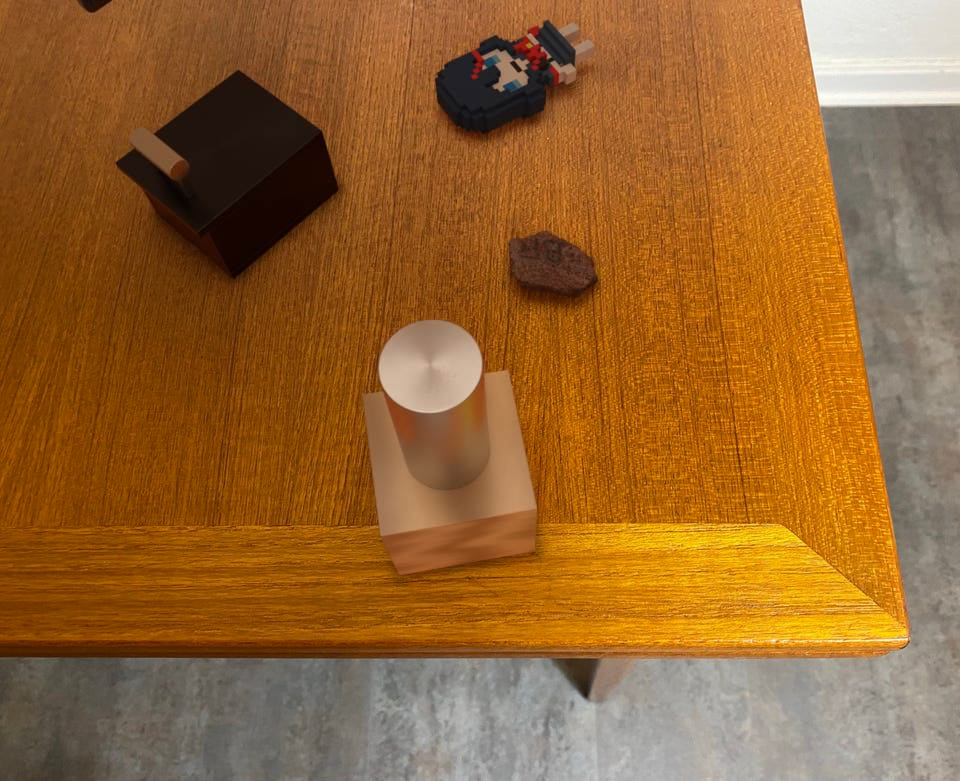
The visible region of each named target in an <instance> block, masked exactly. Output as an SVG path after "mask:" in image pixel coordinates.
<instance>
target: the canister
mask: <svg viewBox="0 0 960 781" xmlns="http://www.w3.org/2000/svg"><path fill="white" fill-rule="evenodd" d="M484 364H485V363H484V356H483V353H482V349H481V347H480V344H478V342H477V340H476V338H475V337H474V336H473V335H472V334H471V333H470V332H469V331H468V330H467V329H465V328H463V327H462V326H460V325H459V324H456V323H455V322H451V321H448V320H444V319H435V318H433V319H432V318H430V319H422V320H418V321H414V322H411V323H409V324H406V325H405V326H403V327H401V328H399V329H398V330H397V331H395V332H394V334H392V335H391V336H390V337H389V338H388V339H387V341H386V343H385V344H384V345H383V347H382V349H381V351H380V354H379V356H378V361H377V377H378V381H379V385H380V388H381V391H383V394H384V397H385V400H386V403H387V406H388V409H389V412H390V416H391V419H392V422H393V425H394V428H395V431H396V434H397V437H398V441H399V444H400V447H401V450H402V453H403V456H404V459H405V462H406V465H407V467H408V469H409V471H410V472H411V474H412V475H413V476H414V477H415V478H416V479H417V480H418V481H419V482H421V483H422V484H424V485H426V486H428V487H431V488H434V489H439V490H452V489H457V488H460V487H463V486H465V485H467V484H469V483H471V482H472V481H473V480H475V479H476V478H477V477H478V476H479V475H480V474H481V473H482V471H483V470H484V468H485V466H486V464H487V462H488V458H489V453H490V443H489V429H488V416H487V403H486V390H485V377H484V374H485V365H484Z"/></svg>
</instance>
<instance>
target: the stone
mask: <svg viewBox="0 0 960 781" xmlns="http://www.w3.org/2000/svg"><path fill="white" fill-rule="evenodd" d="M507 247H508V248H507V252H508V257H509V260H510V262H511V265H510V271H511V273H512V275H513V277H514V278H516V280H517V283H518V284H519V285H520V286H521V289H523V290H524V291H530V292H537V293H551V294H555V295H557V296H560V297H562V298H563V297H565V298H572V299H578V298H579V297H581V296H582V295H583V294H585V292H586V291H587V290H588V289H589V288H591V287H593V286H595V285H596V284H598V283H599V276H598V274H597V273H596V271H595V261H594V260H593V258H591V257H590V256H589V255H588V254H587V253H586V252H585V251H583V250H582V249H581V247H580V246H576V245H574V244H573V243H572V242H569V241H568V240H567V239H565V238H563V237H559V236H558V235H556V234H553V233H552V232H549V231H548V230H542V231H539V232H537V233H535V234H532V235H529V236H526V237H523V238H522V237H515V238H510V239H509V241H508V243H507Z"/></svg>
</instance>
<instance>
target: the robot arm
mask: <svg viewBox="0 0 960 781" xmlns="http://www.w3.org/2000/svg"><path fill="white" fill-rule="evenodd" d="M112 1H113V0H76V2H77V4H78V5H79V6H80V7H81V8H83V9H84V10H85V11H86V12H88V13H90V14H95V13H96V12H98V11H99V10H101V9H102V8H103V7H105V6H106V5H108V4H109V3H111V2H112Z"/></svg>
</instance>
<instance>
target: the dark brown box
mask: <svg viewBox="0 0 960 781" xmlns="http://www.w3.org/2000/svg"><path fill="white" fill-rule="evenodd" d="M339 190H340V188H339V185H338V181H337V178H336V174H335V171H334V167H333V163H332V160H331V157H330V152H329V149H328V145H327V142H326V139H325V137H324V138H322V139H321V140H320V141H319V142H317V143H316V144H315V145H314V146H313V147H311V148H310V149H309V150H308V151H306V152H305V153H304V154H303V155H302V156H300V157H299V158H298V159H297V160H295V161H294V162H293V163H292V164H291V165H289V166H288V167H287V168H286V169H285V170H283V171H282V172H281V173H280V174H278V175H277V176H276V177H275V178H274V179H272V180H271V181H270V182H269V183H267V184H266V185H265V186H264V187H263V188H261V189H260V190H259V191H258V192H256V193H255V194H254V195H253V196H252V197H250V198H249V199H248V200H247V201H245V202H244V203H243V204H242V205H241V206H239V207H238V208H237V209H236V210H234V211H233V212H232V213H231V214H230V215H228V216H227V217H226V218H225V219H223V220H222V221H221V222H220V223H219V224H217V225H216V226H215V227H214V228H212V229H211V230H210V231H209V232H208V233H206V234H205V235H204V236H203V237H201V238H200V237H199V236H198V235H196V234H195V233H194V232H193V231H192V230H190V229H189V228H188V227H187V226H186V225H184V224H183V223H182V222H181V221H180V220H179V219H177V218H176V217H175V216H174V215H173V214H171V213H170V212H169V211H168V210H167V209H166V208H164V207H163V206H162V205H161V204H160V203H158V202H157V201H156V200H155V199H154V198H152V197H151V196H150V195H149V194H148V193H147V192H145V191H144V190H143V189H142V188H141V191H142V192H143V193H144V195H145V197H146V198H147V200H148V202H149V203H150V205H151V207H152V208H153V210H154V211H155V213H156V215H157V216H159V217H160V218H161V219H162V220H164V221H165V222H166V223H167V224H168V225H169V226H170V227H171V228H173V229H174V230H175V231H176V232H178V233H179V234H180V235H181V236H182V237H183V238H185V239H186V240H187V241H188V242H190V244H191V245H193V246H194V247H195V248H196V249H197V250H199V251H200V252H201V253H202V254H203V255H205V256H206V257H207V258H208V259H209V260H211V262H213V263H214V264H215V265H216V266H218V267H219V269H221V270H222V271H223V272H225V273H226V274H227V275H228V276H229V277H231V279H233V280H234V279H236V278H237V277H238V276H239V275H240V274H241V273H243V272H244V271H245V270H246V269H248V268H249V267H250V266H251V265H252V264H253V263H255V262H256V261H257V260H258V259H259V258H260V257H262V256H263V255H264V254H265V253H266V252H268V251H269V250H270V249H271V248H273V246H275V245H276V244H277V243H278V242H279V241H280V240H282V239H283V238H284V237H285V236H286V235H288V234H289V233H290V232H291V231H292V230H294V229H295V228H296V227H297V226H299V224H301V223H302V222H303V221H304V220H305V219H307V217H309V216H310V215H311V214H312V213H314V212H315V211H316V210H317V209H318V208H320V207H321V206H322V205H323V204H324V203H325V202H326V201H327V200H329V199H330V198H331V197H332V196H333V195H335V194H336V193H337V192H338V191H339Z"/></svg>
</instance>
